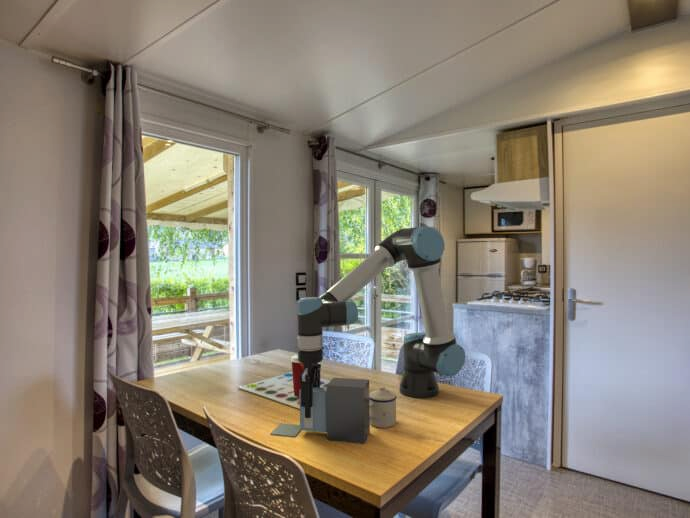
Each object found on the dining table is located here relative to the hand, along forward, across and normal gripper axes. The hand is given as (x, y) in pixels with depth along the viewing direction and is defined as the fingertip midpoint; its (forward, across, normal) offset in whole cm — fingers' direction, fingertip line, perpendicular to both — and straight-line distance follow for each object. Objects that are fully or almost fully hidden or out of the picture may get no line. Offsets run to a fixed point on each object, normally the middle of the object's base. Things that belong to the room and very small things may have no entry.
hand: (311, 424), depth 128 cm
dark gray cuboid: (+3, 0, +11) cm, 11 cm away
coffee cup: (+3, -32, -15) cm, 35 cm away
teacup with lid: (+3, -11, +19) cm, 22 cm away
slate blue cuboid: (+1, 0, +4) cm, 4 cm away
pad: (+3, 0, -8) cm, 8 cm away
